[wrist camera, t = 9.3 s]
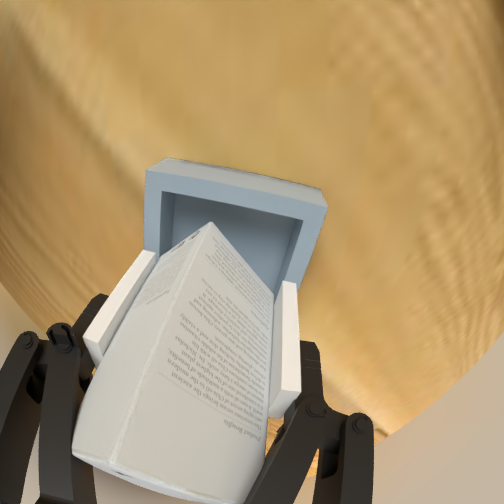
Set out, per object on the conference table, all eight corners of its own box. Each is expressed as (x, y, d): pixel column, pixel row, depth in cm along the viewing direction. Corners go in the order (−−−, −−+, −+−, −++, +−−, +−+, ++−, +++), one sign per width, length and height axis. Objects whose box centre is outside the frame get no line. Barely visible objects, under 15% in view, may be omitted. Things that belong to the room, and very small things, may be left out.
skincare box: (158, 255, 15) (56, 446, 5) (212, 217, 14) (106, 464, 4) (223, 321, 18) (184, 501, 8) (277, 295, 16) (266, 509, 6)
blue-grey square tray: (161, 293, 21) (148, 318, 19) (166, 157, 15) (145, 170, 13) (275, 318, 21) (274, 347, 19) (319, 188, 16) (328, 207, 13)
